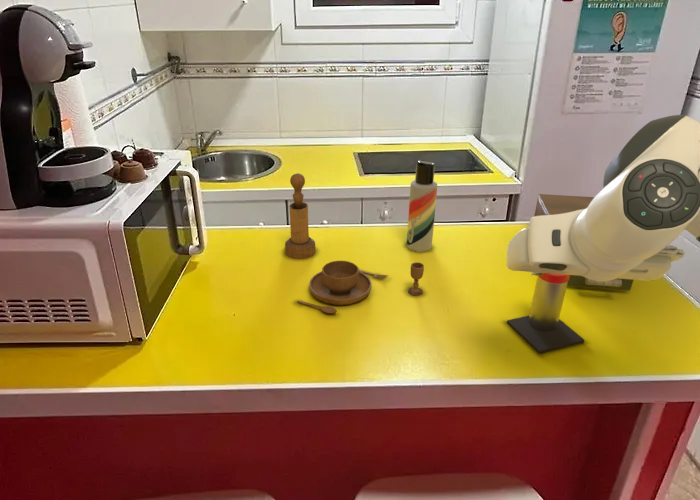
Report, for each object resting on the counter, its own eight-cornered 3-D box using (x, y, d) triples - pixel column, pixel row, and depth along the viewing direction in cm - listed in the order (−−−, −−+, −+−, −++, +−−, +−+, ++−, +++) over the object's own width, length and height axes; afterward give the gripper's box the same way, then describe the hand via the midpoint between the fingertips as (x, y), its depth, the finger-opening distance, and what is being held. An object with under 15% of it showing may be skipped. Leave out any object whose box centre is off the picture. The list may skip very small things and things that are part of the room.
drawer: (638, 302, 96) (649, 265, 92) (562, 296, 97) (571, 260, 94) (606, 253, 113) (615, 220, 110) (543, 248, 115) (549, 216, 111)
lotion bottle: (401, 246, 117) (406, 160, 108) (417, 238, 121) (424, 155, 111) (420, 255, 114) (427, 167, 104) (436, 247, 117) (445, 161, 108)
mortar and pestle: (290, 261, 110) (286, 181, 102) (281, 248, 116) (276, 171, 107) (319, 255, 113) (318, 177, 105) (309, 243, 118) (307, 167, 110)
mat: (548, 313, 94) (549, 310, 94) (584, 342, 86) (584, 339, 86) (506, 323, 91) (506, 320, 91) (539, 354, 84) (539, 351, 84)
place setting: (338, 263, 110) (338, 238, 107) (426, 289, 101) (428, 262, 98) (289, 303, 96) (287, 275, 94) (385, 336, 87) (387, 307, 85)
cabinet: (616, 269, 109) (628, 228, 104) (544, 264, 110) (553, 223, 106) (594, 235, 123) (604, 197, 119) (531, 231, 125) (538, 193, 120)
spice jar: (545, 312, 93) (557, 259, 88) (564, 328, 89) (577, 273, 84) (521, 317, 92) (532, 263, 87) (539, 334, 88) (552, 278, 82)
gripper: (689, 225, 64) (640, 257, 77) (519, 215, 67) (499, 248, 80) (694, 274, 62) (643, 299, 75) (518, 262, 65) (499, 287, 78)
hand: (568, 272), depth 78 cm, fingers open, 8 cm apart
